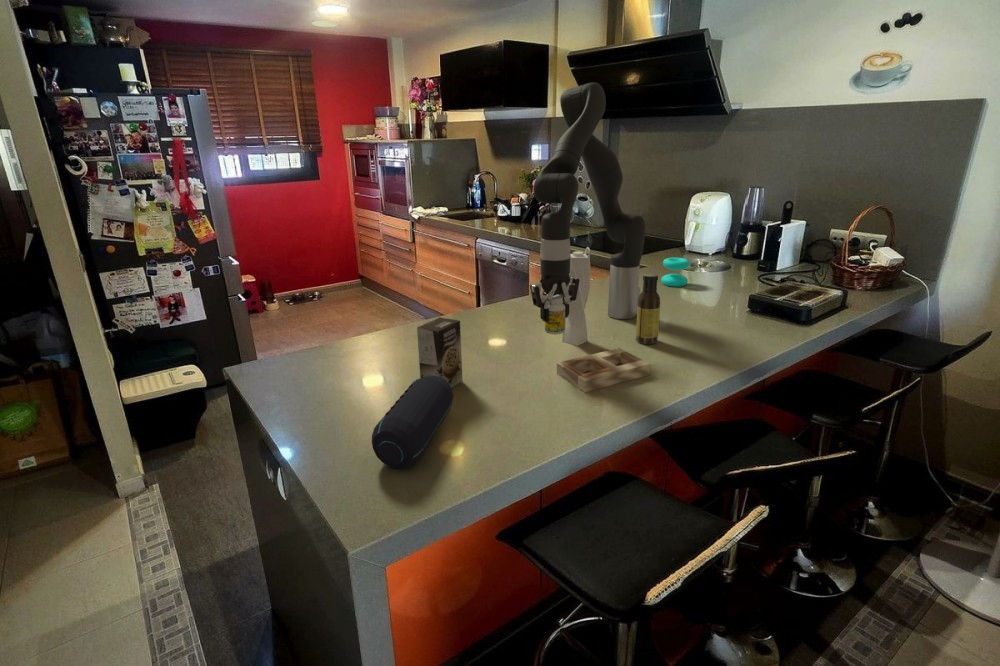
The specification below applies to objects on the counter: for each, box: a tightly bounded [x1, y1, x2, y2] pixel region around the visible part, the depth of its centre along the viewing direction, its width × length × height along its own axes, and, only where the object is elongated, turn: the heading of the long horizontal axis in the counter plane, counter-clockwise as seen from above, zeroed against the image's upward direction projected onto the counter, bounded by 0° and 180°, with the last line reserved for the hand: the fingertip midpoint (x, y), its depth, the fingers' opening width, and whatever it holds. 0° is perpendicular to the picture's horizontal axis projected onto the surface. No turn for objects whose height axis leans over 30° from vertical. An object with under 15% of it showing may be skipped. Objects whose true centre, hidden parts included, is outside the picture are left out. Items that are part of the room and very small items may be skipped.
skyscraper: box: [561, 246, 591, 347], centre depth 151 cm, size 8×8×28 cm
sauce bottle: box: [635, 272, 661, 345], centre depth 152 cm, size 6×6×20 cm
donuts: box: [660, 257, 691, 288], centre depth 211 cm, size 10×10×10 cm
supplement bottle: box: [544, 294, 565, 335], centre depth 139 cm, size 5×5×10 cm
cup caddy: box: [556, 347, 651, 393], centre depth 134 cm, size 20×12×3 cm, turn 117°
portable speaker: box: [371, 375, 454, 470], centre depth 106 cm, size 25×10×10 cm, turn 167°
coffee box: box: [416, 317, 464, 389], centre depth 127 cm, size 9×6×16 cm
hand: (554, 318), depth 140 cm, fingers closed on supplement bottle, 5 cm apart
